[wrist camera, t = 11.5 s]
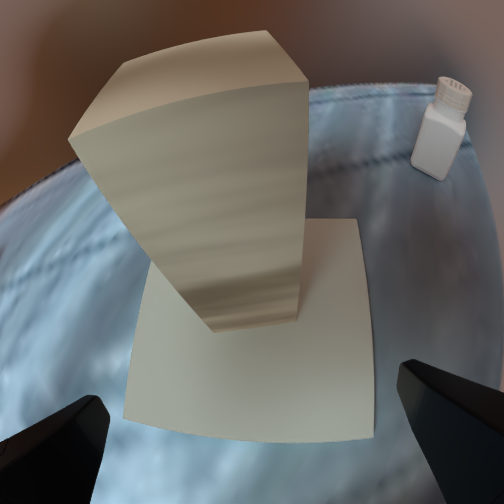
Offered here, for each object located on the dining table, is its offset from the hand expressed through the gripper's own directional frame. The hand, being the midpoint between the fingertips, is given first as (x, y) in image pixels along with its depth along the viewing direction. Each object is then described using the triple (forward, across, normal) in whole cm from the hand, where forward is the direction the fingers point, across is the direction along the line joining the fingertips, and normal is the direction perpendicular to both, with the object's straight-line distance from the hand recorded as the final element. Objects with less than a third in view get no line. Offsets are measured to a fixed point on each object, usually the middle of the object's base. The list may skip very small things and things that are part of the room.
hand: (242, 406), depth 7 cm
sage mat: (+10, 0, +2) cm, 10 cm away
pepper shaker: (+19, -19, -6) cm, 27 cm away
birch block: (+11, 0, +1) cm, 11 cm away
